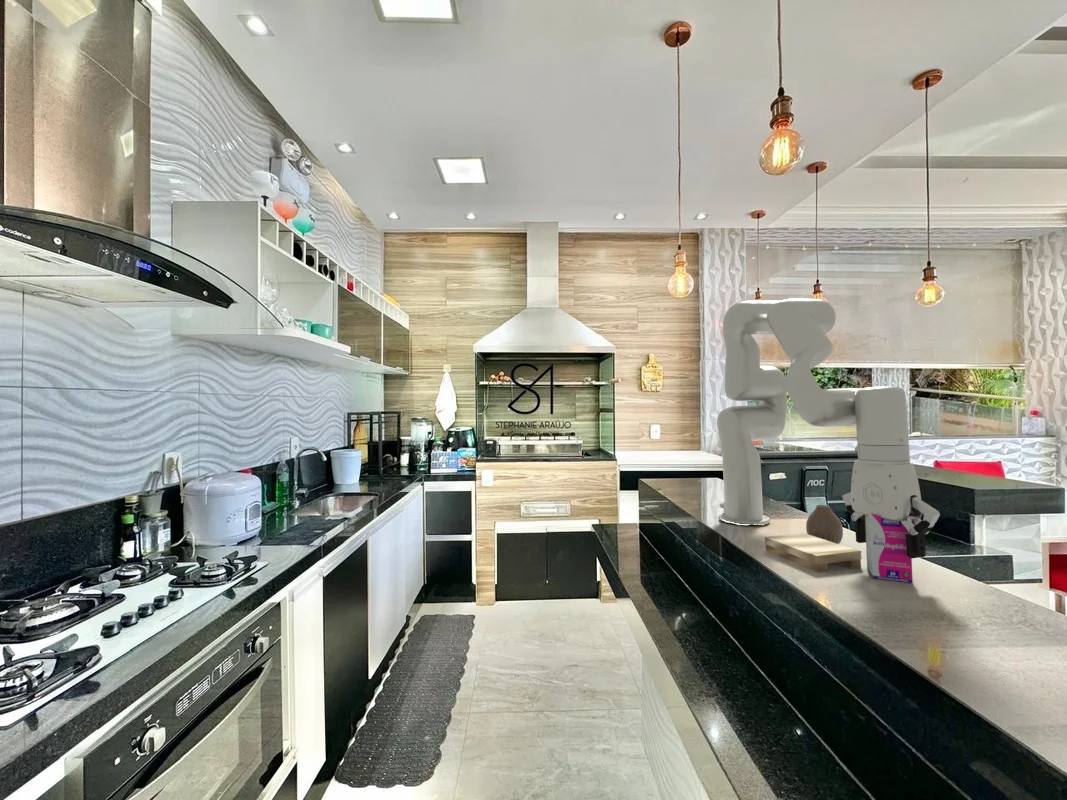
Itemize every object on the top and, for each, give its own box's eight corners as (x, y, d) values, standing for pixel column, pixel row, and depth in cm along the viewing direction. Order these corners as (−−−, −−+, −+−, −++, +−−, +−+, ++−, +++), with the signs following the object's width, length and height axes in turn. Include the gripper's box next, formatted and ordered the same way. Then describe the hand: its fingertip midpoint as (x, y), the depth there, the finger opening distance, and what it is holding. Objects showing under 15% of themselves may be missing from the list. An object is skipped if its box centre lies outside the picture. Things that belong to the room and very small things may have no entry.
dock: (765, 550, 99) (764, 536, 99) (804, 546, 101) (804, 532, 101) (817, 572, 85) (816, 555, 85) (862, 567, 87) (861, 550, 87)
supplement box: (872, 579, 81) (869, 514, 81) (866, 568, 86) (863, 508, 87) (914, 584, 78) (910, 517, 79) (905, 572, 84) (901, 510, 84)
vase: (800, 541, 105) (799, 503, 105) (831, 540, 105) (829, 502, 105) (818, 550, 98) (816, 509, 99) (851, 549, 98) (848, 508, 98)
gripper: (826, 452, 91) (831, 538, 90) (914, 459, 74) (921, 566, 73) (857, 450, 92) (862, 535, 91) (951, 457, 75) (958, 561, 75)
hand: (888, 549), depth 82 cm, fingers open, 9 cm apart
